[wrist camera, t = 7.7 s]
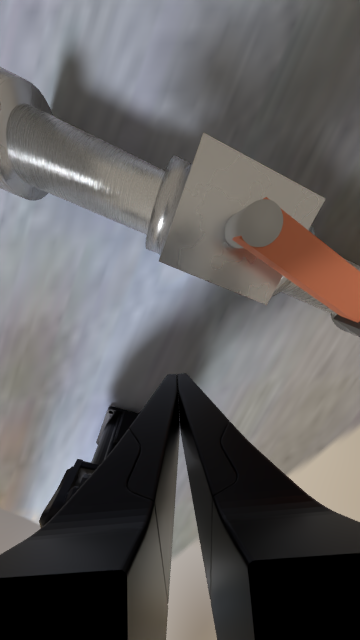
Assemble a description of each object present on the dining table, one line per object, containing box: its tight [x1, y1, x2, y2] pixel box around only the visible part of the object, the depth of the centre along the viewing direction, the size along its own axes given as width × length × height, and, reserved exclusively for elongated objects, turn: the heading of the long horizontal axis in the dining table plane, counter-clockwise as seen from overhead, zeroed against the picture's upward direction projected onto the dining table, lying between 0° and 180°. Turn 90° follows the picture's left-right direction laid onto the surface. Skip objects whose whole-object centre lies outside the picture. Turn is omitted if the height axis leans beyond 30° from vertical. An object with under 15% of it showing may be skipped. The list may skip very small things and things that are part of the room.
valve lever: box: [225, 197, 360, 337], centre depth 11 cm, size 14×3×3 cm, turn 59°
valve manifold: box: [0, 67, 360, 336], centre depth 15 cm, size 7×32×7 cm, turn 68°
